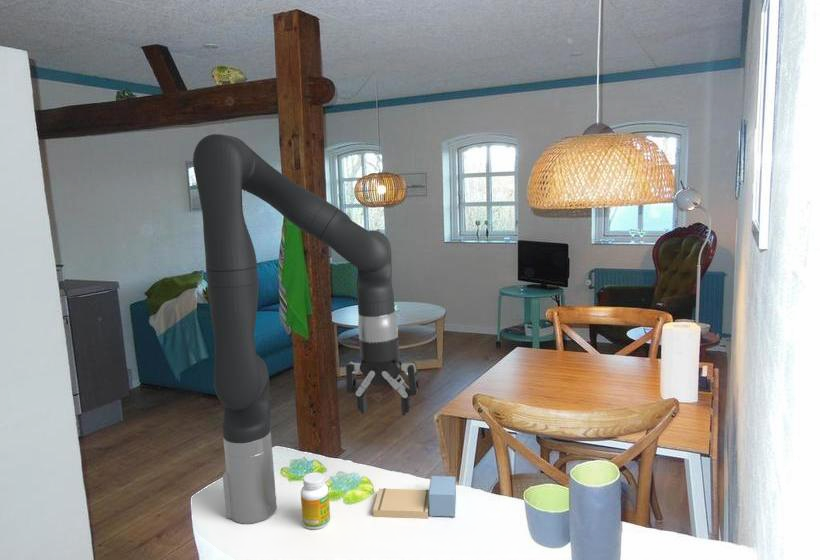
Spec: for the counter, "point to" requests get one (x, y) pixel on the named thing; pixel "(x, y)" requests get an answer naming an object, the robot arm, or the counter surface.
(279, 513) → the counter surface
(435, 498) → the stub
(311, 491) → the supplement bottle
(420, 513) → the board
